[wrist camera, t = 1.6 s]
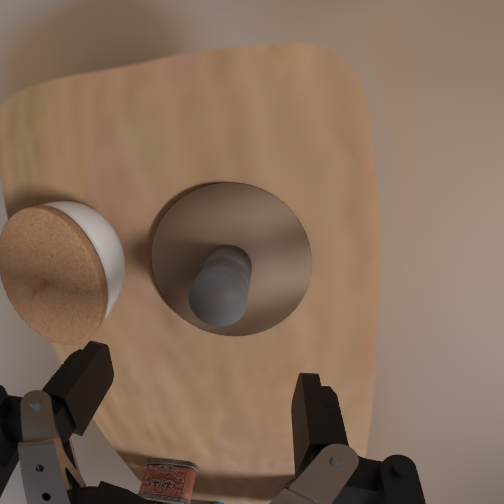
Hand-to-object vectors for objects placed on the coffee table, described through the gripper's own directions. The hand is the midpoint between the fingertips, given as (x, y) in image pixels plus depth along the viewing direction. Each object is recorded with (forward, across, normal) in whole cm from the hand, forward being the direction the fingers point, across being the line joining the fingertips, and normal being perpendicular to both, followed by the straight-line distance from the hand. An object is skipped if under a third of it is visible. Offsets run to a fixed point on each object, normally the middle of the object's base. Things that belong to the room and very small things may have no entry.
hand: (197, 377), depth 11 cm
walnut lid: (+14, 0, 0) cm, 14 cm away
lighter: (+14, +7, +33) cm, 37 cm away
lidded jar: (+14, +13, 0) cm, 19 cm away
